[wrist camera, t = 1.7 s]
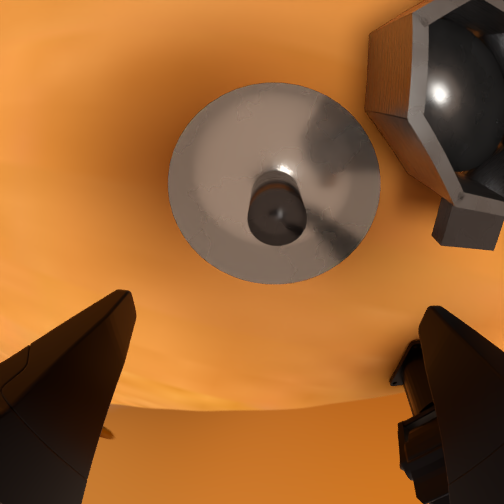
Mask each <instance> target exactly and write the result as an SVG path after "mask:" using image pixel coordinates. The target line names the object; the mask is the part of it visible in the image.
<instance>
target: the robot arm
mask: <svg viewBox="0 0 504 504" xmlns="http://www.w3.org/2000/svg"><path fill="white" fill-rule="evenodd" d="M135 321H136V310H135V305H134V301H133V297H132V294H131V292H130V291H128V290H120V289H118V290H116V291H114V292H112V293H111V294H109V295H107V296H106V297H104V298H102V299H101V300H99V301H98V302H96V303H94V304H93V305H91V306H89V307H88V308H86V309H85V310H83V311H81V312H80V313H78V314H77V315H75V316H73V317H72V318H70V319H69V320H67V321H65V322H64V323H62V324H61V325H59V326H58V327H56V328H54V329H53V330H51V331H50V332H48V333H47V334H45V335H44V336H42V337H41V338H39V339H37V340H36V341H34V342H33V343H31V345H28V346H27V347H25V348H24V349H22V350H21V351H19V352H18V353H16V354H14V355H13V356H11V357H10V358H8V359H6V360H5V361H3V362H1V363H0V504H81V503H82V499H83V495H84V491H85V487H86V483H87V478H88V475H89V471H90V468H91V464H92V460H93V457H94V453H95V450H96V447H97V443H98V440H99V437H100V434H101V430H102V427H103V424H104V421H105V418H106V415H107V411H108V409H109V406H110V403H111V400H112V397H113V394H114V391H115V388H116V385H117V382H118V380H119V377H120V374H121V371H122V369H123V366H124V363H125V359H126V356H127V352H128V348H129V344H130V340H131V336H132V332H133V328H134V325H135ZM419 337H420V341H413V342H411V343H410V344H409V346H408V348H407V350H406V352H405V354H404V356H403V358H402V360H401V362H400V363H399V365H398V367H397V369H396V371H395V372H394V374H393V376H392V378H391V379H390V385H391V386H397V385H403V386H404V389H405V392H406V395H407V398H408V401H409V404H410V407H411V411H412V414H413V417H411V418H409V419H407V420H405V421H402V422H400V423H398V440H399V454H400V469H402V470H404V471H405V473H406V475H407V477H408V478H409V479H410V480H413V481H414V486H415V492H416V497H417V498H418V499H419V500H420V501H421V502H422V503H423V504H428V503H429V504H504V352H503V351H502V350H501V349H499V348H498V347H497V346H495V345H494V344H493V343H491V342H490V341H489V340H487V339H486V338H485V337H483V336H482V335H481V334H479V333H478V332H476V331H475V330H474V329H472V328H471V327H470V326H468V325H467V324H465V323H464V322H463V321H461V320H460V319H458V318H457V317H456V316H454V315H453V314H451V313H450V312H449V311H447V310H446V309H444V308H443V307H441V306H429V307H428V308H427V310H426V312H425V314H424V316H423V318H422V321H421V323H420V325H419Z"/></svg>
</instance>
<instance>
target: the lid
mask: <svg viewBox="0 0 504 504" xmlns="http://www.w3.org/2000/svg"><path fill="white" fill-rule="evenodd" d="M168 193H169V201H170V205H171V209H172V213H173V216H174V218H175V220H176V223H177V225H178V227H179V229H180V231H181V232H182V234H183V236H184V238H185V239H186V240H187V242H188V243H189V244H190V245H191V247H192V248H193V249H194V250H195V251H196V252H197V253H198V254H199V255H200V256H201V257H202V258H203V259H205V260H206V261H207V262H208V263H210V264H211V265H213V266H214V267H216V268H217V269H219V270H221V271H223V272H225V273H227V274H229V275H231V276H234V277H236V278H239V279H242V280H246V281H250V282H255V283H262V284H287V283H294V282H299V281H303V280H307V279H310V278H313V277H315V276H318V275H320V274H322V273H324V272H326V271H328V270H330V269H331V268H333V267H335V266H336V265H338V264H339V263H340V262H342V261H343V260H344V259H345V258H347V257H348V256H349V255H350V254H351V253H352V252H353V251H354V250H355V249H356V248H357V246H358V245H359V244H360V242H361V241H362V240H363V238H364V237H365V235H366V234H367V232H368V230H369V228H370V227H371V224H372V222H373V219H374V217H375V214H376V211H377V207H378V203H379V196H380V172H379V165H378V161H377V157H376V154H375V151H374V148H373V146H372V144H371V142H370V139H369V137H368V136H367V134H366V133H365V131H364V129H363V128H362V126H361V125H360V124H359V123H358V121H357V120H356V119H355V118H354V117H353V116H352V115H351V114H350V113H349V112H348V111H347V110H346V109H345V108H344V107H342V106H341V105H340V104H339V103H337V102H335V101H334V100H332V99H331V98H329V97H328V96H326V95H324V94H321V93H319V92H317V91H315V90H312V89H309V88H306V87H302V86H299V85H293V84H287V83H262V84H254V85H249V86H246V87H242V88H239V89H236V90H233V91H231V92H229V93H227V94H224V95H222V96H220V97H219V98H217V99H216V100H214V101H213V102H211V103H209V104H208V105H207V106H206V107H205V108H203V109H202V110H201V111H200V112H199V113H198V114H197V115H196V116H195V117H194V118H193V119H192V120H191V122H190V123H189V124H188V125H187V127H186V128H185V130H184V131H183V133H182V134H181V136H180V138H179V140H178V142H177V144H176V146H175V149H174V152H173V155H172V158H171V161H170V167H169V174H168Z"/></svg>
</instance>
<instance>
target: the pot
mask: <svg viewBox="0 0 504 504" xmlns="http://www.w3.org/2000/svg"><path fill="white" fill-rule="evenodd" d="M365 111H366V113H367V114H368V115H369V117H370V118H371V120H372V121H373V122H374V124H375V125H376V126H377V128H378V129H379V131H380V132H381V134H382V135H383V136H384V138H385V139H386V141H387V142H388V144H389V145H390V147H391V148H392V150H393V151H394V153H395V154H396V156H397V157H398V159H399V161H400V162H401V164H402V165H403V167H404V169H405V170H406V172H407V173H408V174H410V175H411V176H413V177H414V178H416V179H417V180H419V181H420V182H422V183H423V184H425V185H426V186H427V187H429V188H430V189H432V190H433V191H435V192H436V193H437V194H439V195H440V196H441V197H442V198H441V202H440V206H439V210H438V214H437V217H436V221H435V225H434V228H433V232H432V236H433V237H434V239H435V240H436V241H437V242H438V243H439V244H440V245H441V246H451V247H462V248H472V249H482V250H492V251H494V248H495V245H496V242H497V240H498V237H499V234H500V231H501V228H502V225H503V221H504V0H425V1H423V2H421V3H419V4H417V5H416V6H414V7H412V8H411V9H409V10H407V11H405V12H404V13H402V14H400V15H399V16H397V17H396V18H394V19H392V20H391V21H389V22H388V23H386V24H384V25H383V26H381V27H380V28H378V29H377V30H375V31H374V32H372V33H371V34H370V35H369V54H368V72H367V87H366V99H365ZM462 171H464V172H463V173H460V172H462Z"/></svg>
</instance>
